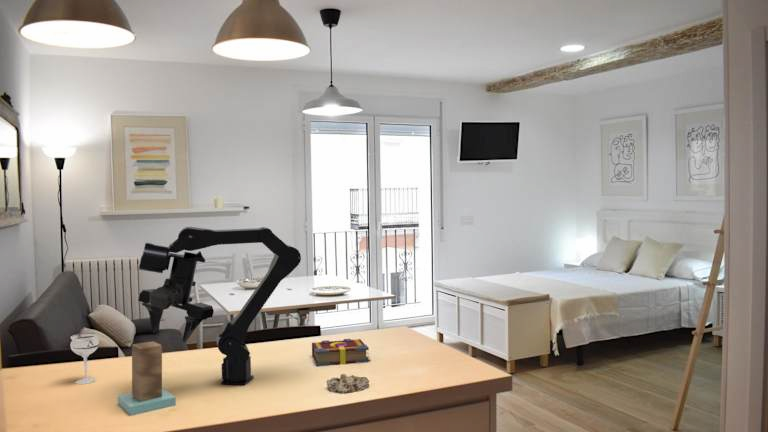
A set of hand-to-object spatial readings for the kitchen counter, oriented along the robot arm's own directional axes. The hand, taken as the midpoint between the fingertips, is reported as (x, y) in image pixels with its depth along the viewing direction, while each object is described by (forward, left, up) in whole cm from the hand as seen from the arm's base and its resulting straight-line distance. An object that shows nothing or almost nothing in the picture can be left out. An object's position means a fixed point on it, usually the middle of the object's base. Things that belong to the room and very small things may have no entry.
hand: (169, 337), depth 151 cm
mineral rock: (-45, -6, -13) cm, 47 cm away
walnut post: (-1, +12, -11) cm, 16 cm away
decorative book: (-37, -31, -13) cm, 50 cm away
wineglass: (+25, -2, -13) cm, 28 cm away
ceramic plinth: (-1, +12, -13) cm, 18 cm away
